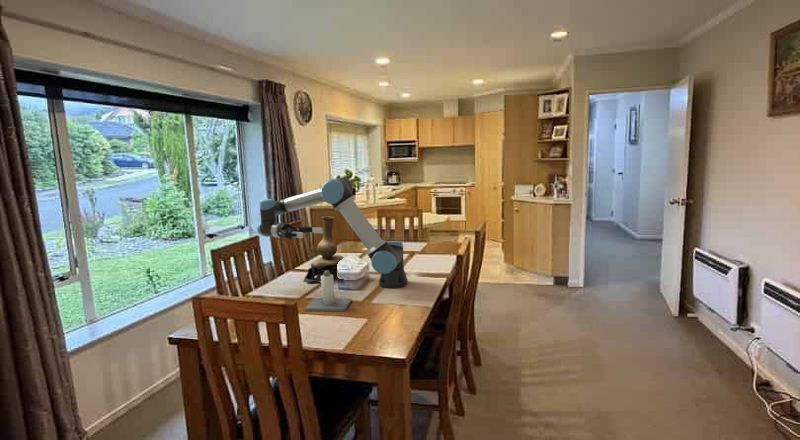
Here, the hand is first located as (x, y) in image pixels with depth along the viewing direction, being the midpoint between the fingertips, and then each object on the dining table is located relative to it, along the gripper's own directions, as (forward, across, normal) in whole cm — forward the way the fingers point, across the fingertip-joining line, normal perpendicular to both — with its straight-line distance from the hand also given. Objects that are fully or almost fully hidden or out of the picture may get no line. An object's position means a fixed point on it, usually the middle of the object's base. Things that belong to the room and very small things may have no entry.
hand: (312, 232), depth 205 cm
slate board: (+14, +7, -32) cm, 36 cm away
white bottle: (+14, +7, -31) cm, 35 cm away
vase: (-20, -28, -32) cm, 47 cm away
